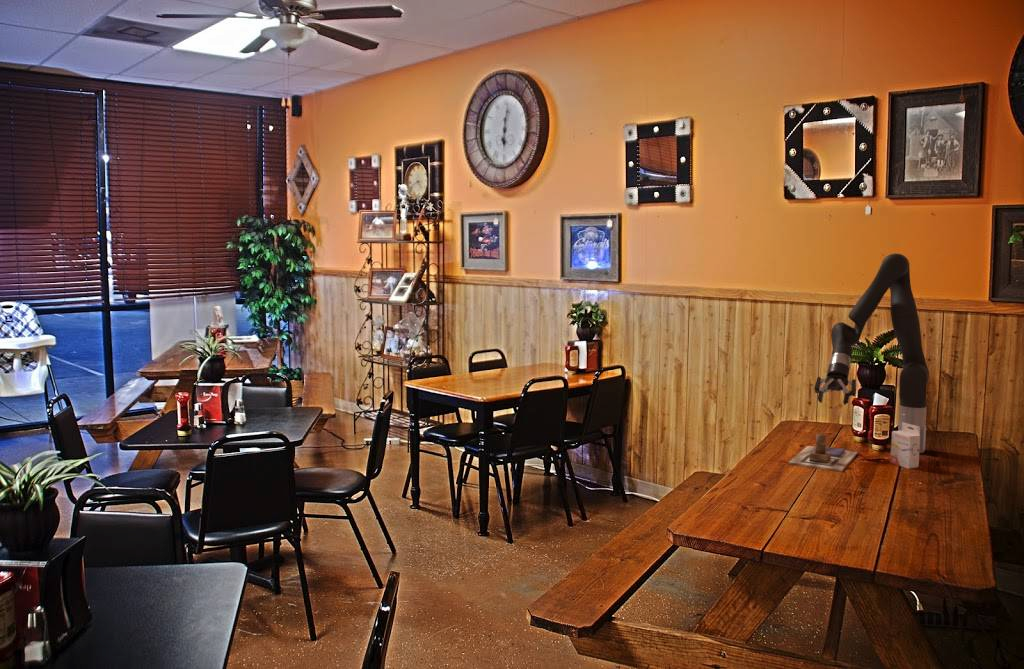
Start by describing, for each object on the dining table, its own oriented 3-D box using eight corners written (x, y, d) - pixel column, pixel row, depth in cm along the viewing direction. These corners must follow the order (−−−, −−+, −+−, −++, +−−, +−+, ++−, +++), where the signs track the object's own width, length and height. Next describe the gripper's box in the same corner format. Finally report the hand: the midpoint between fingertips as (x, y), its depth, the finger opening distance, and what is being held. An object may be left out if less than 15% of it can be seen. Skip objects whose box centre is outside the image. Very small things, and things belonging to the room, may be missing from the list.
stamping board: (857, 454, 313) (857, 449, 313) (841, 471, 289) (841, 466, 289) (807, 447, 323) (807, 443, 322) (788, 464, 299) (788, 459, 299)
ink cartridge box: (889, 462, 301) (891, 422, 299) (899, 461, 303) (901, 421, 301) (908, 469, 293) (910, 427, 291) (919, 467, 295) (921, 426, 293)
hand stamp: (830, 459, 302) (831, 434, 301) (826, 463, 297) (827, 437, 296) (813, 457, 305) (814, 432, 304) (809, 461, 300) (810, 435, 299)
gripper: (818, 360, 319) (811, 395, 310) (858, 362, 311) (851, 398, 303) (820, 372, 324) (813, 406, 315) (860, 374, 316) (854, 410, 308)
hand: (832, 402), depth 309 cm, fingers open, 8 cm apart
